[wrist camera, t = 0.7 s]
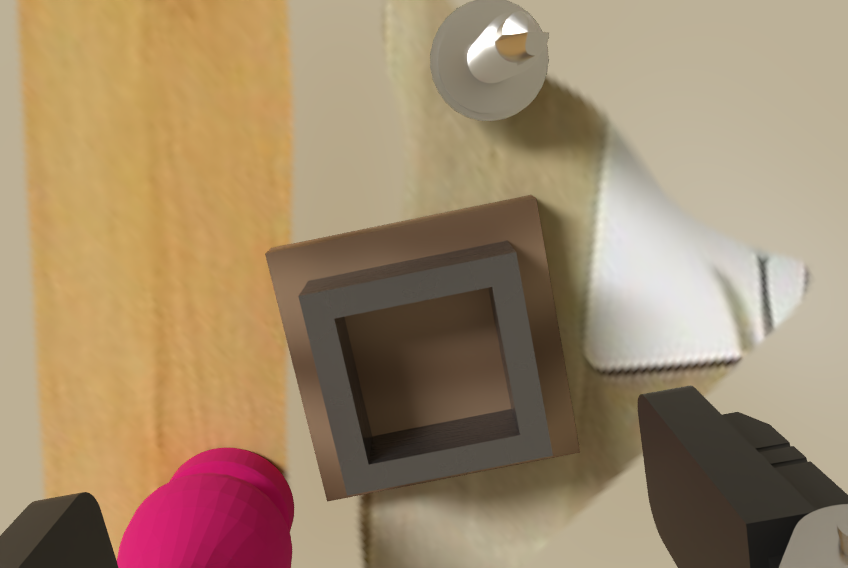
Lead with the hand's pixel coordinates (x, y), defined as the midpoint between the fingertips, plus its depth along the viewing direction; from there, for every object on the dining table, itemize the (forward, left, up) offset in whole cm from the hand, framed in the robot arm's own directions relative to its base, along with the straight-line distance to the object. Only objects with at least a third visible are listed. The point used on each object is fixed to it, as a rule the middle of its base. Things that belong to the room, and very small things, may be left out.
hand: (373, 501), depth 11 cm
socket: (+5, 0, -23) cm, 24 cm away
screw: (-7, +5, -25) cm, 26 cm away
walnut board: (+5, 0, -25) cm, 25 cm away
